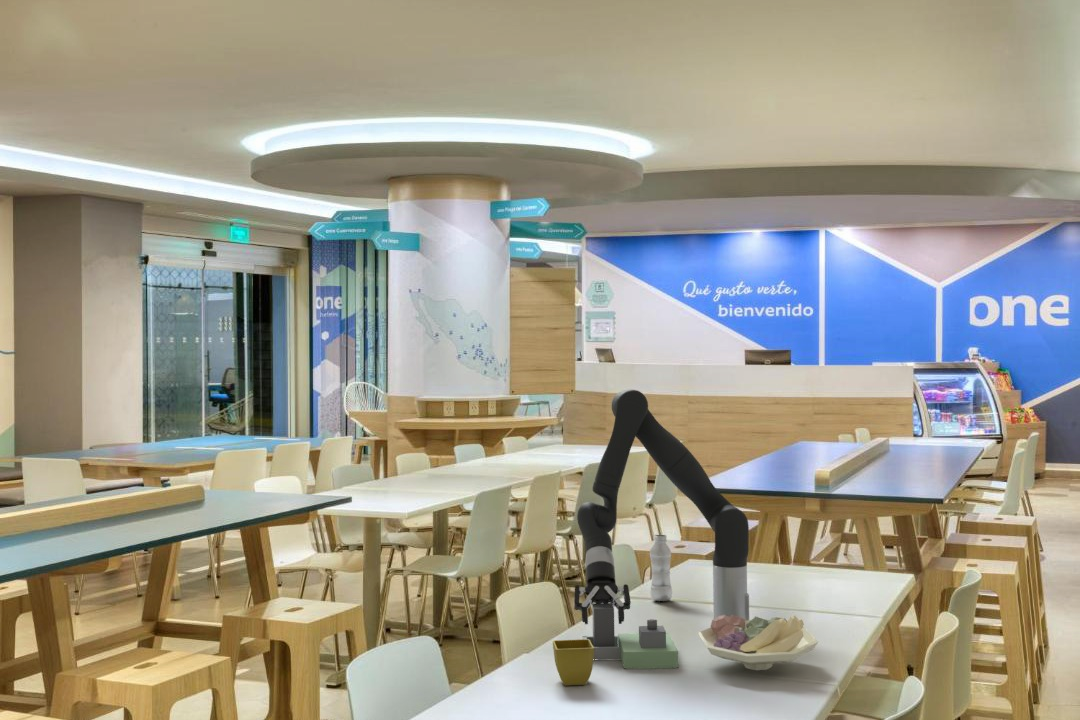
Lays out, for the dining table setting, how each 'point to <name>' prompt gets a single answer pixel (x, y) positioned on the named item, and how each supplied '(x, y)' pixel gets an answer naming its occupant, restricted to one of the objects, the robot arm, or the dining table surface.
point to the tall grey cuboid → (603, 625)
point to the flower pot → (573, 660)
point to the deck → (641, 648)
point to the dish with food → (758, 640)
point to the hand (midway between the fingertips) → (603, 622)
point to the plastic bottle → (660, 569)
